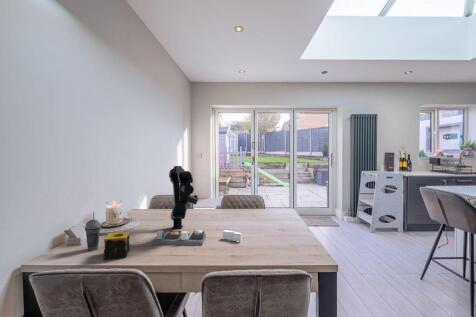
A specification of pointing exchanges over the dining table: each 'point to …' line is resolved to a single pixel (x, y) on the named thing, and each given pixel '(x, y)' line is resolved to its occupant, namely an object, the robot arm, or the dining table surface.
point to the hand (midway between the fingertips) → (184, 216)
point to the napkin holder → (232, 235)
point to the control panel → (176, 239)
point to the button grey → (197, 232)
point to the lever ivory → (184, 235)
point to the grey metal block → (160, 234)
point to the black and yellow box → (116, 245)
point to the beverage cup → (92, 234)
